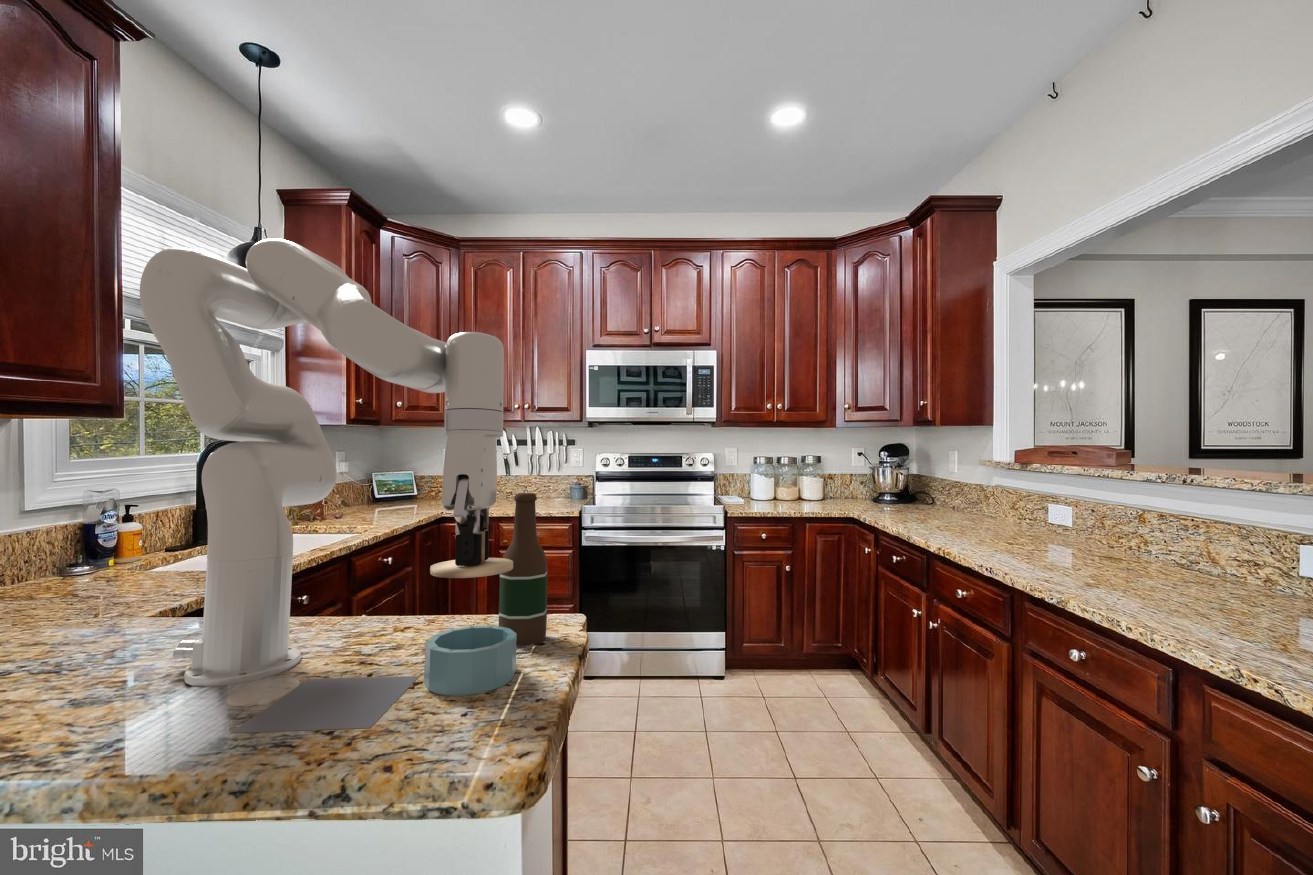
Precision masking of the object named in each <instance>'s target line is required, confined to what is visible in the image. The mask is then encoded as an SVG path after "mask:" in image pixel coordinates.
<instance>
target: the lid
mask: <svg viewBox="0 0 1313 875" xmlns="http://www.w3.org/2000/svg"><path fill="white" fill-rule="evenodd" d="M485 531H486V530H484V531H479V534H482V562H481V564H480V565H478V566H457V565H456V564H455V559H451V560H447V561H446V560H445V561H441V562H437V563H434V564H432V565H430V568H429V572H430V573H429V574H430V575H431V576H433V577H436V578H445V579H468V578H470V579H471V578H480V577H482V578H483V577H489V576H495V575H500V574H501V573H505V572H508V571H510V570H512V569H513V561H512V560H509V559H504V558H503V557H489V558H488V559H487V560H486V561H485Z"/></svg>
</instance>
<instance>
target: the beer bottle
mask: <svg viewBox="0 0 1313 875" xmlns="http://www.w3.org/2000/svg"><path fill="white" fill-rule="evenodd" d="M513 500H514V501H515V508H514V509H515V510H514V520H513V522H514V523H513V534H512V538H511V542H510V544H509V546H508V547H507V549H506V551H505V552H504V553H503V556H502V558H504V559H509V560H512V561H513V569H512V570H510V571H508V572H505V573H501V574H499V595H498V597H499V598H498V599H499V600H498V626H499V627H505V628H510V629H511V630H512V631H514V632H515V633H516V634H517V640H516V647H517V646H520V647H521V646H531V645H532V646H537V645H540V644H541V645H542V644H543V642H544V640H545V637H546V635H547V625H548V623H547V618H548V572H549V571H548V558H547V555H546V552H545V550H544V548H543V547H542V545H541V544H540V542H539V540H538V534H537V514H536V513H537V512H536V511H537V510H536V501H537V500H538V497H537V493H535V492H518V493H515V496H514V498H513Z"/></svg>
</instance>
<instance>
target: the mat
mask: <svg viewBox="0 0 1313 875" xmlns="http://www.w3.org/2000/svg"><path fill="white" fill-rule="evenodd" d="M418 678H420V676H419V675H413V676H412V675H411V676H410V675H408V676H407V675H406V676H374V677H370V676H369V677H343V678H342V677H337V678H334V677H333V678H308V679H306V680H305V681H303V682H302V683H301V684H299V685H297V686H296V687H295V688H293V689H292V690H290V691H289V692H288V693H286V694H284V695H282V697H279V699H277V700H276V701H274V702H273V703H271V704H269V705H268V706H267V707H265V708H264V709H263V710H261V711H259V712H258V713H257V714H255V715H253V717H251V718H249V719H248V720H246V721H245V722H244V723H242V724H241V725H239V726H238V727H236V728H235V729H233V730H232V731H230V732H229V734H248V733H250V734H252V733H255V734H256V733H279V732H282V733H283V732H306V731H307V732H308V731H309V732H310V731H331V730H332V731H335V730H337V731H338V730H362V729H363V730H365V729H367V730H368V729H372V727H373V726H374V725H375V724H376V723H378V721H379V720H380V719H381V718H382V717H383V716H384V715H385V714H386V713H387V712H388V710H389V709H390V708H392V706H393V705H394V704H395V703H396V702H398V700H399V699H400V698H401V697H402V696H403V695H404V693H405V692H406V691H408V690H409V688H411V686H412V685H413V684H414V682H416V680H418Z"/></svg>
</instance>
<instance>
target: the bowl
mask: <svg viewBox="0 0 1313 875" xmlns="http://www.w3.org/2000/svg"><path fill="white" fill-rule="evenodd" d="M516 640H517V634H516V633H515V632H514V631H512V630H511V629H510V628H505V627H499V625H498V626H497V625H469V626H463V627H456V628H452V629H451V628H450V629H448V630H444V631H442V632H439V633H436V634H434V635H432V636H431V637H429V639H428V640H426V642H425V643H424V645H425V646H424V647H425V648H424V672H423V673H424V674H423V676H424V677H423V678H424V679H423V683H424V684H425V687H426V689H427V690H428V691H429V692H431V693H433V694H437V695H441V696H447V697H456V696H457V697H462V696H464V697H465V696H473V695H479V694H483V693H488V692H491V691H494V690H497V689H499V688H501V687H504V686H506V685H507V684H508V683H510V682H511V681H512V680H513V679H514V677H515V673H516V672H517V646H516Z"/></svg>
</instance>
